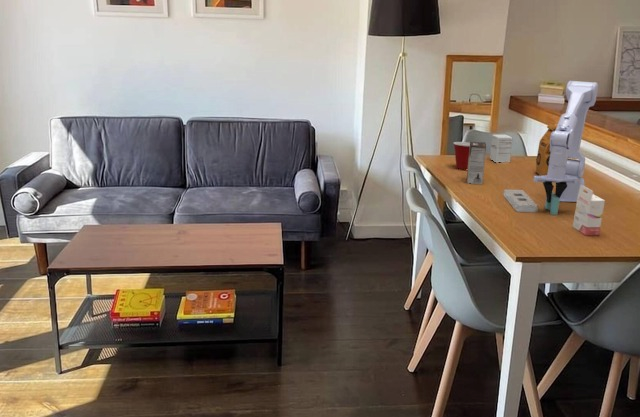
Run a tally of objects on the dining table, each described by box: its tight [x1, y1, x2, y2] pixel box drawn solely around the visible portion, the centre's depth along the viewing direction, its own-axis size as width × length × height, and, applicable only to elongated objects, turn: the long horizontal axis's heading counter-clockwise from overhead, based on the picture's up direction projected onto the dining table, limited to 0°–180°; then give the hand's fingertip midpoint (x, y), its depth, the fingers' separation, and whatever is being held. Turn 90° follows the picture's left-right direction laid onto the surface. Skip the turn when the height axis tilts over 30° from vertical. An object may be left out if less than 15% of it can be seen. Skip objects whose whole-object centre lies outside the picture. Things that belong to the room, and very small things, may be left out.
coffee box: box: [466, 141, 487, 185], centre depth 244 cm, size 9×6×16 cm
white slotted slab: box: [503, 189, 539, 213], centre depth 217 cm, size 7×20×2 cm, turn 176°
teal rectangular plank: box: [544, 191, 561, 216], centre depth 209 cm, size 2×8×6 cm, turn 176°
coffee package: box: [535, 123, 557, 176], centre depth 254 cm, size 10×12×22 cm
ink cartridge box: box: [572, 185, 606, 236], centre depth 188 cm, size 9×5×15 cm, turn 5°
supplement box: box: [489, 134, 514, 163], centre depth 280 cm, size 7×7×13 cm
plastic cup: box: [452, 141, 470, 170], centre depth 266 cm, size 11×11×12 cm
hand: (552, 202), depth 208 cm, fingers closed on teal rectangular plank, 2 cm apart
